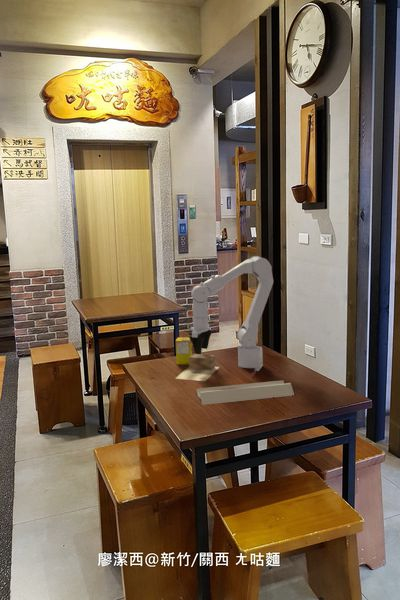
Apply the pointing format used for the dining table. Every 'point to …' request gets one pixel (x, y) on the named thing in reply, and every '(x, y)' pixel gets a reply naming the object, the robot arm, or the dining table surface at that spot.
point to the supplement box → (183, 350)
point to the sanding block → (202, 362)
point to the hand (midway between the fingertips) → (201, 351)
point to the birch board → (196, 374)
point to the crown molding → (244, 392)
